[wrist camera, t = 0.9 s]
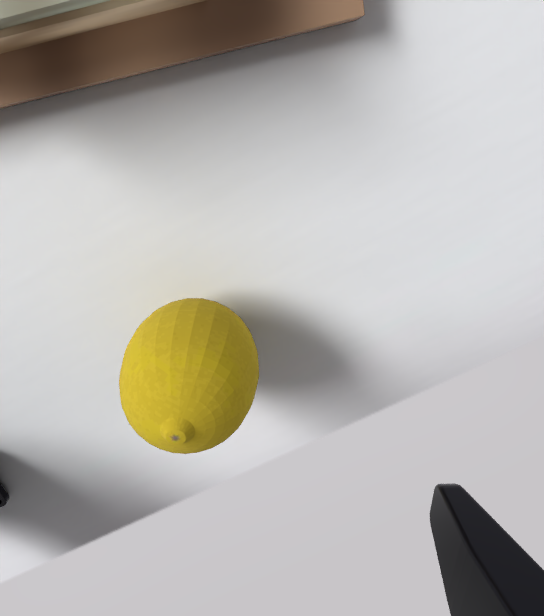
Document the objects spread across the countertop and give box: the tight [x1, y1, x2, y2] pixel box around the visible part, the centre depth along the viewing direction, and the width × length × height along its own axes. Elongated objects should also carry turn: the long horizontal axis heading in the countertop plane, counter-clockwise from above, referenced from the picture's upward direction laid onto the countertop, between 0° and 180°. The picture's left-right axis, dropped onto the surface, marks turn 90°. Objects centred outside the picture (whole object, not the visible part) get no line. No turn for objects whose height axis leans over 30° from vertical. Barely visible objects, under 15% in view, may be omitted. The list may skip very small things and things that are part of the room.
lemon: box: [119, 298, 259, 454], centre depth 19 cm, size 6×6×8 cm
